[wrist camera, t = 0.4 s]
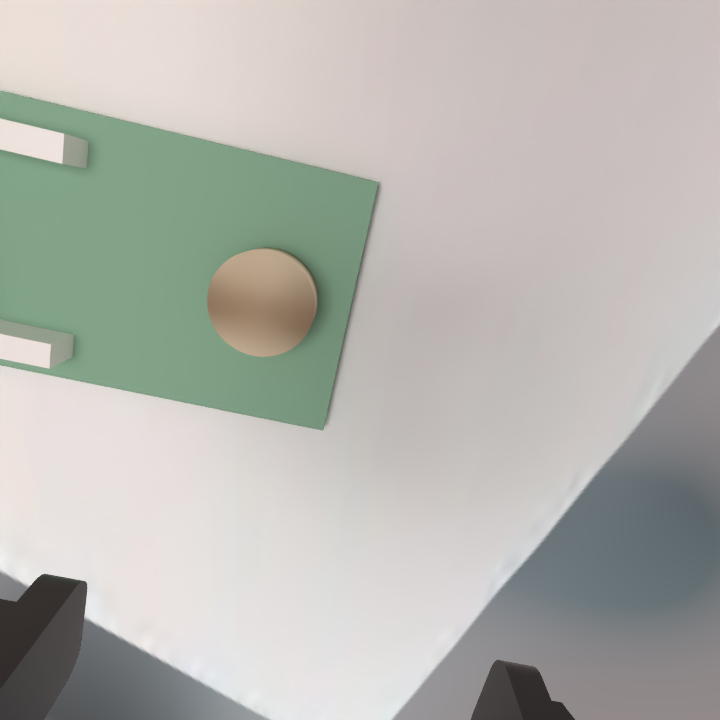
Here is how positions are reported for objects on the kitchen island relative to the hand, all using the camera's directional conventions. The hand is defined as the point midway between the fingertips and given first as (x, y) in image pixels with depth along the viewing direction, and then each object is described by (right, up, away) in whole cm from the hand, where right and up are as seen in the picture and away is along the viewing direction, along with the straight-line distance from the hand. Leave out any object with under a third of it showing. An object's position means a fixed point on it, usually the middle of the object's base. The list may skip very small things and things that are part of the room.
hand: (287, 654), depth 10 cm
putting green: (-12, +12, +21) cm, 27 cm away
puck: (-4, +10, +21) cm, 24 cm away
